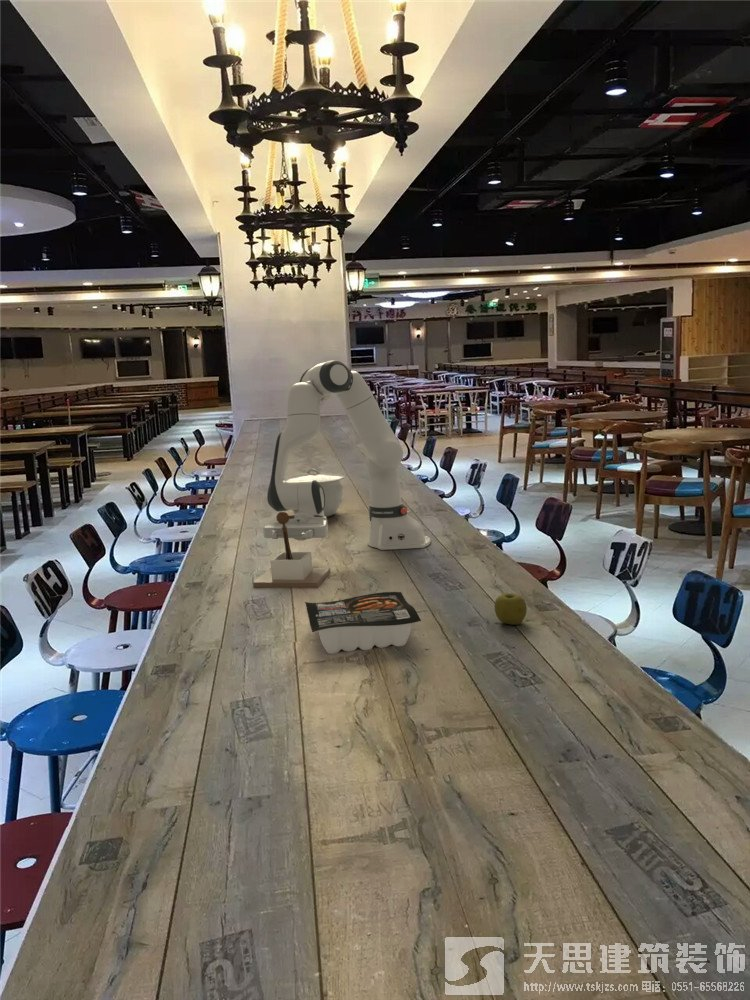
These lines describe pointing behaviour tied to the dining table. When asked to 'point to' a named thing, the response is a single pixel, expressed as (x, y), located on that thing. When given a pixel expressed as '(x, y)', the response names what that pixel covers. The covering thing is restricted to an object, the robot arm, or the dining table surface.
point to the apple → (510, 608)
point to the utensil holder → (292, 572)
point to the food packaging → (362, 621)
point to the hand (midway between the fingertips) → (289, 536)
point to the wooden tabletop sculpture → (285, 531)
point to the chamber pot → (324, 487)
